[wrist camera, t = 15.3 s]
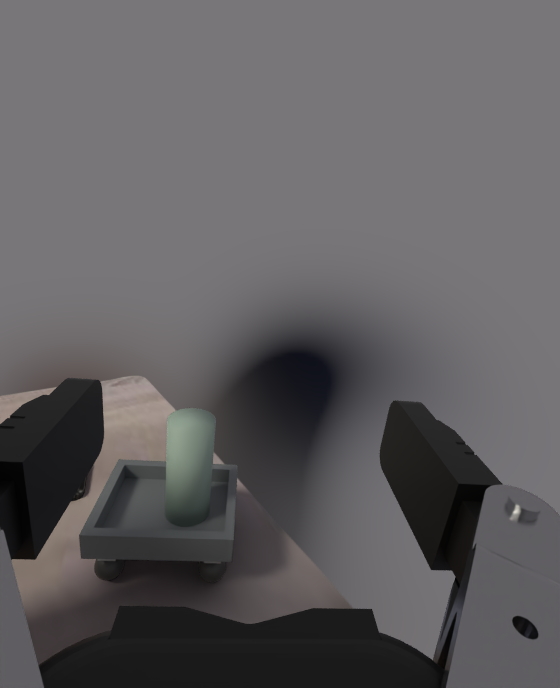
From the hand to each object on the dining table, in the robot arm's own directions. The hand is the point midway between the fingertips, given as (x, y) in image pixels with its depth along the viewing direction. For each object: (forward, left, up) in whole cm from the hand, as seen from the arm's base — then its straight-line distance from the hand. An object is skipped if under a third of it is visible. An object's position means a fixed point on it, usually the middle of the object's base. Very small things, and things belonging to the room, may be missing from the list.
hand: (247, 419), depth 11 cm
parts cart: (-7, +27, -34) cm, 44 cm away
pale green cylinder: (-5, +27, -28) cm, 40 cm away
